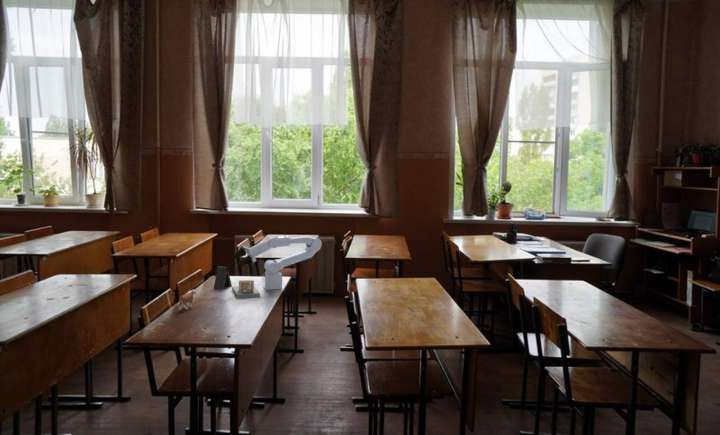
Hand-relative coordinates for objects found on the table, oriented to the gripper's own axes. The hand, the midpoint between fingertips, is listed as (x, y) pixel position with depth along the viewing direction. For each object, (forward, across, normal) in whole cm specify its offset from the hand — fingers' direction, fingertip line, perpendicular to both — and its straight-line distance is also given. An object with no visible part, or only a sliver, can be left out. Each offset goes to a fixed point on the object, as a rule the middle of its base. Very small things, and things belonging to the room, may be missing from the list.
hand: (235, 260), depth 321 cm
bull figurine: (+34, +27, -8) cm, 45 cm away
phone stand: (+12, -5, +17) cm, 22 cm away
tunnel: (+3, +15, +10) cm, 18 cm away
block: (+3, +13, +11) cm, 17 cm away
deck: (+4, +14, +12) cm, 19 cm away
